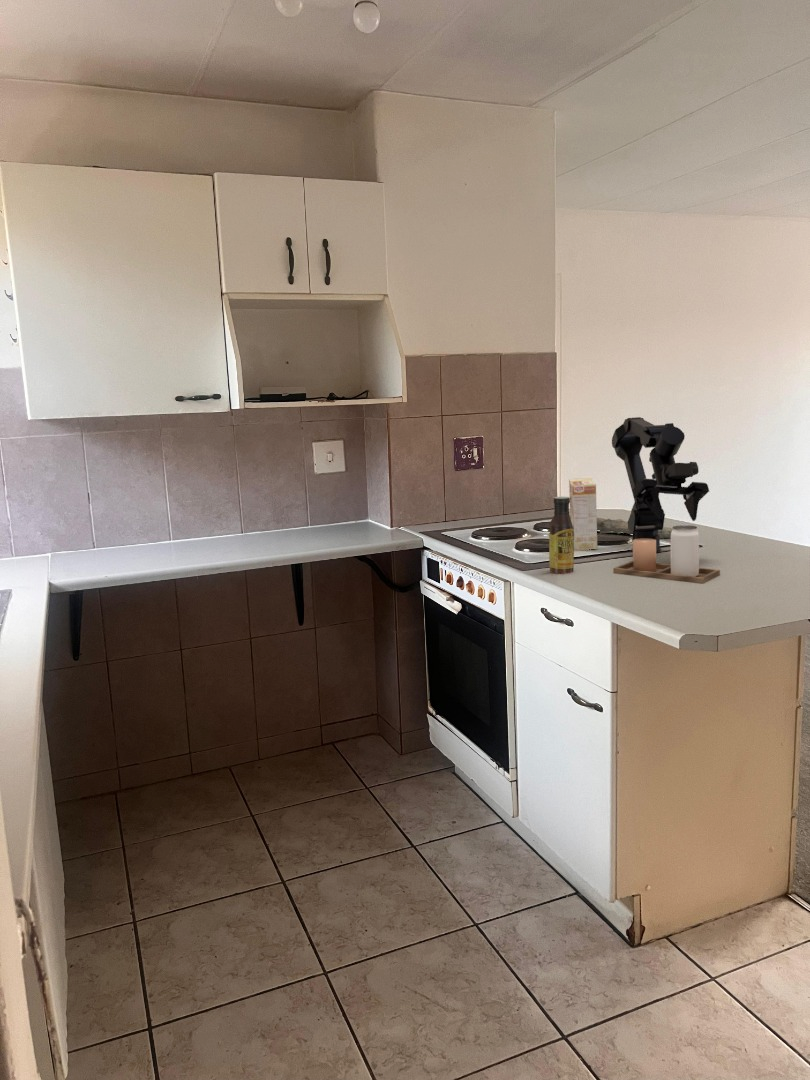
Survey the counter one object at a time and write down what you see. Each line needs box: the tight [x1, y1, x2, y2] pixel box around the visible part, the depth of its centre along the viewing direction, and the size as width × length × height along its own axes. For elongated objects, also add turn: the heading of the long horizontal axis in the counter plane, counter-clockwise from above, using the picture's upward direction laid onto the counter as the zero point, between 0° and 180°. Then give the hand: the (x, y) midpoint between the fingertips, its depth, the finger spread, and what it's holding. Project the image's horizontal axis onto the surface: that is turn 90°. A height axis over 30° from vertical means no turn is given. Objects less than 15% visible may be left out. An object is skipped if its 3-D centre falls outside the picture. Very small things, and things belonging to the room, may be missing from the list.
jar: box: [632, 538, 657, 572], centre depth 203 cm, size 6×6×8 cm
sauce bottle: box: [548, 496, 575, 575], centre depth 208 cm, size 6×6×20 cm
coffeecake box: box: [568, 477, 598, 551], centre depth 242 cm, size 15×7×20 cm, turn 172°
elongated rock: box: [597, 517, 673, 539], centre depth 258 cm, size 35×5×10 cm
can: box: [670, 524, 700, 577], centre depth 196 cm, size 6×6×12 cm
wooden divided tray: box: [612, 560, 721, 585], centre depth 200 cm, size 23×10×2 cm, turn 47°
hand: (678, 519), depth 203 cm, fingers open, 9 cm apart
